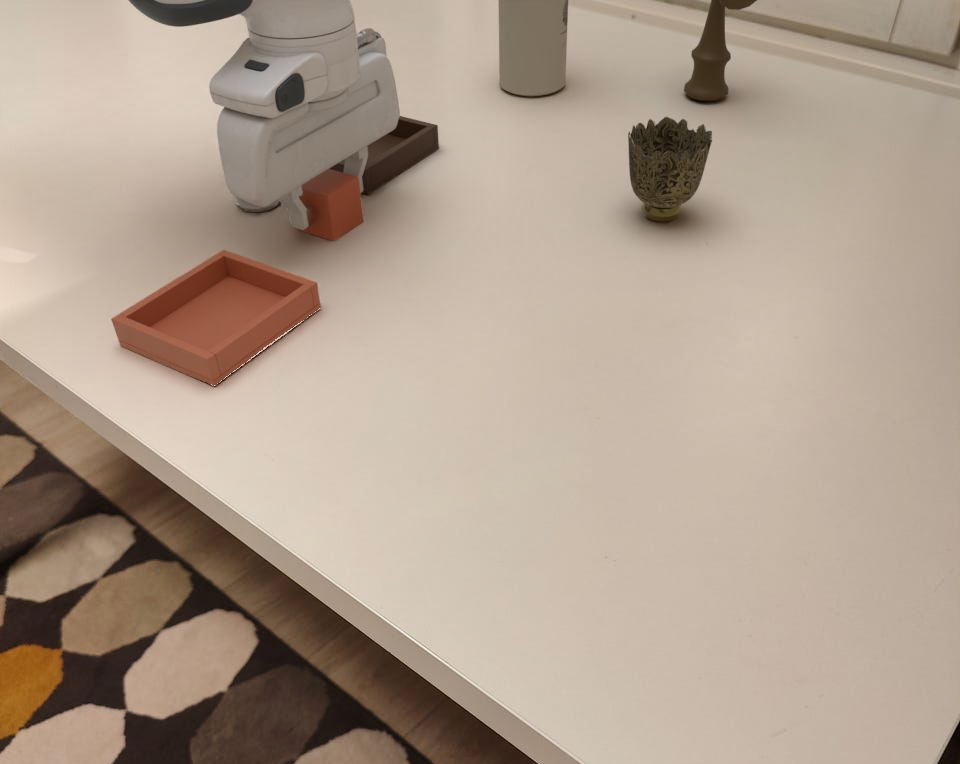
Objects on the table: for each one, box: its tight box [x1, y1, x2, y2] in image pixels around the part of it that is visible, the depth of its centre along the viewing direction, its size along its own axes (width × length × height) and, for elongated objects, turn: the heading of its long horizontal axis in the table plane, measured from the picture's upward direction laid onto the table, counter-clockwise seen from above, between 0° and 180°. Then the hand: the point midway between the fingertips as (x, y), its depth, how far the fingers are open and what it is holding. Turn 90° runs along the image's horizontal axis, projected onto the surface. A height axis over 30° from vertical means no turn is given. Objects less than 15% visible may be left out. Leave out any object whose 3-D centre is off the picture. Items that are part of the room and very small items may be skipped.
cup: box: [627, 116, 713, 223], centre depth 87 cm, size 8×7×8 cm
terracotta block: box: [297, 169, 365, 242], centre depth 89 cm, size 4×4×4 cm
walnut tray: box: [329, 115, 440, 196], centre depth 100 cm, size 13×11×3 cm
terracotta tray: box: [110, 249, 322, 387], centre depth 77 cm, size 13×11×3 cm
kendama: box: [683, 0, 758, 102], centre depth 104 cm, size 6×10×20 cm, turn 18°
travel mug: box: [498, 0, 569, 98], centre depth 108 cm, size 8×8×18 cm
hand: (328, 209), depth 89 cm, fingers open, 6 cm apart
